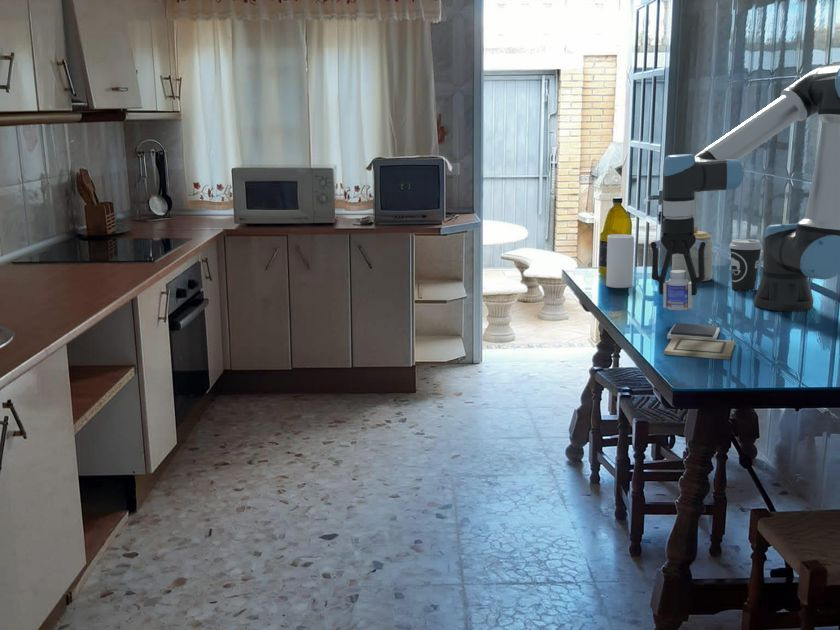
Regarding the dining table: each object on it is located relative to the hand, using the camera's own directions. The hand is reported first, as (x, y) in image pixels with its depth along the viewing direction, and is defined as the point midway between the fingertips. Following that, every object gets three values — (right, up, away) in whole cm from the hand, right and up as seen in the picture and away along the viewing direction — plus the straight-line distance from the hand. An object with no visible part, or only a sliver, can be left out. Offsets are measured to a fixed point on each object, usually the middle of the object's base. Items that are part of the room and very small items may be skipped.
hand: (677, 306), depth 221 cm
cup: (-2, +7, +54) cm, 55 cm away
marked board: (-2, -10, -23) cm, 25 cm away
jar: (+23, +10, +62) cm, 67 cm away
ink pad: (+1, -7, -10) cm, 13 cm away
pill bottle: (0, -1, 0) cm, 1 cm away
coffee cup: (+33, +6, +43) cm, 54 cm away
